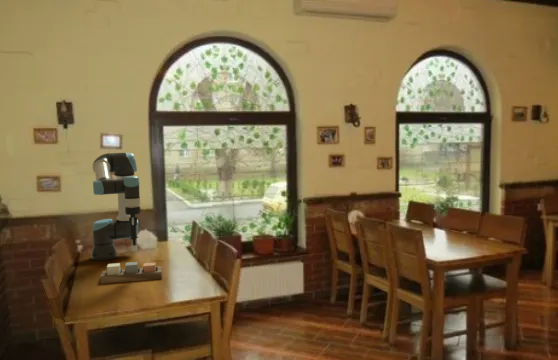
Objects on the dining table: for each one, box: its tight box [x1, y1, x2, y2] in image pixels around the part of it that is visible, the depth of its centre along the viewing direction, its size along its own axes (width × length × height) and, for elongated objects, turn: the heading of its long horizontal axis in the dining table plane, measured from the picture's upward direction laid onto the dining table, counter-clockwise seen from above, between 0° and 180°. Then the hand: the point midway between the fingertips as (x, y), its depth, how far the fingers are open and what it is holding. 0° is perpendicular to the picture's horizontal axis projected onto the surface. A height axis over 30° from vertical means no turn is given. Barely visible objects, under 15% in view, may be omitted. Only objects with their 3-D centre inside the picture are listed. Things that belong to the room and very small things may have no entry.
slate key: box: [124, 261, 139, 274], centre depth 252 cm, size 6×6×4 cm
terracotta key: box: [143, 261, 157, 272], centre depth 254 cm, size 6×6×4 cm
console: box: [99, 265, 163, 285], centre depth 252 cm, size 12×30×4 cm, turn 103°
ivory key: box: [106, 262, 122, 275], centre depth 250 cm, size 6×6×4 cm
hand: (134, 251), depth 252 cm, fingers closed
